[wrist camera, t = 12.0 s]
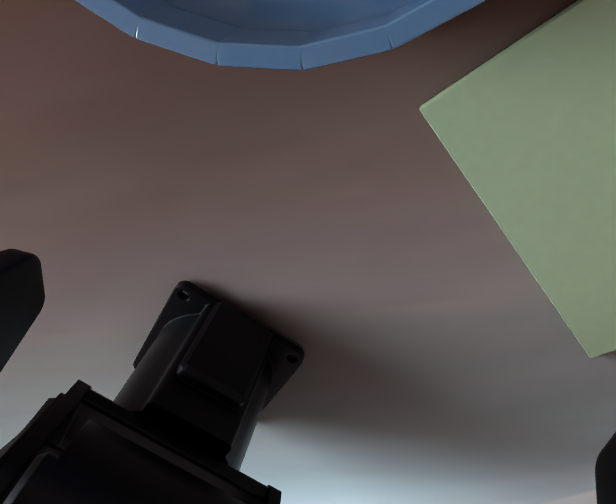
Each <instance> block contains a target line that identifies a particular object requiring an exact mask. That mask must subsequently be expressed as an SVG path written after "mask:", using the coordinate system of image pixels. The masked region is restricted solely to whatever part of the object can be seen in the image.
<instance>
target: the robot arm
mask: <svg viewBox="0 0 616 504" xmlns="http://www.w3.org/2000/svg"><path fill="white" fill-rule="evenodd" d="M183 291H186V292H187V293H188V294H189V295H187V294H185V293H184V292H183ZM44 300H45V292H44V284H43V277H42V269H41V262H40V260H39V258H38V257H37V256H36V255H34V254H31V253H28V252H24V251H20V250H17V249H7V250H4V251H0V372H1V371H2V369H3V367H4V366H5V364H6V363H7V361H8V360H9V358H10V357H11V355H12V354H13V352H14V351H15V349H16V348H17V346H18V345H19V343H20V342H21V340H22V339H23V337H24V336H25V334H26V333H27V331H28V330H29V328H30V327H31V325H32V323H33V322H34V320H35V319H36V317H37V316H38V314H39V313H40V311H41V309H42V307H43V304H44ZM289 354H292V355H295V356H296V357H293V356H291V355H289ZM304 356H305V354H304V351H303V349H302V348H301V347H300V346H298V345H296V344H295V343H293V342H291V341H290V340H288V339H286V338H284V337H283V336H281V335H279V334H278V333H276V332H274V331H273V330H271V329H269V328H267V327H266V326H264V325H262V324H261V323H259V322H257V321H256V320H254V319H252V318H251V317H249V316H247V315H245V314H244V313H242V312H240V311H239V310H237V309H235V308H234V307H232V306H230V305H229V304H227V303H225V302H223V301H222V300H220V299H218V298H217V297H215V296H213V295H212V294H210V293H208V292H206V291H205V290H203V289H201V288H200V287H198V286H196V285H195V284H193V283H191V282H189V281H181V282H179V283H178V284H177V286H176V287H175V289H174V290H173V292H172V294H171V295H170V297H169V299H168V301H167V303H166V305H165V306H164V308H163V310H162V312H161V314H160V315H159V317H158V319H157V321H156V323H155V325H154V326H153V328H152V330H151V332H150V334H149V335H148V337H147V339H146V341H145V343H144V345H143V346H142V348H141V350H140V352H139V354H138V355H137V357H136V359H135V361H134V364H133V365H134V368H135V370H134V372H133V373H132V375H131V376H130V378H129V379H128V380H127V382H126V383H125V385H124V386H123V388H122V389H121V391H120V392H119V394H118V395H117V397H116V398H115V400H114V401H111V400H109V399H108V398H106V397H104V396H102V395H100V394H99V393H97V392H95V391H93V390H91V386H89V385H88V384H86V383H84V382H82V381H80V380H78V381H77V382H76V383H75V384H74V385H73V386H72V387H71V388H70V389H69V391H68V392H67V393H66V394H63V393H60V394H59V395H58V396H57V397H56V398H49V399H48V400H47V401H46V403H45V404H44V405H43V406H42V407H41V409H40V410H39V411H38V412H37V414H36V415H35V416H34V417H33V418H32V420H31V421H30V422H29V423H28V424H27V426H26V427H25V428H24V429H23V430H22V431H21V432H20V433H19V434H18V435H17V436H16V437H15V438H14V439H12V440H11V441H10V442H9V443H8V444H6V445H5V446H4V447H3V448H2V449H1V450H0V504H280V501H281V491H279V490H277V489H276V488H274V487H272V486H270V485H268V486H265V485H263V484H261V483H260V482H258V481H256V480H254V479H252V478H251V477H249V476H247V475H245V474H243V473H242V472H240V471H239V470H240V467H241V464H242V462H243V459H244V456H245V453H246V451H247V448H248V445H249V443H250V440H251V437H252V434H253V432H254V429H255V426H256V424H257V421H258V418H259V416H260V413H261V411H262V410H263V409H264V408H265V407H266V405H267V404H268V403H269V402H270V401H271V399H272V398H273V397H274V396H275V395H276V394H277V392H278V391H279V390H280V389H281V388H282V387H283V385H284V384H285V383H286V382H287V381H288V379H289V378H290V377H291V376H292V375H293V374H294V372H295V371H296V370H297V369H298V368H299V367H300V365H301V364H302V362H303V359H304ZM595 477H596V494H597V504H616V432H615V434H614V435H613V436H612V437H611V439H610V440H609V441H608V443H607V444H606V445H605V447H604V448H603V449H602V451H601V452H600V454H599V455H598V458H597V461H596V466H595Z"/></svg>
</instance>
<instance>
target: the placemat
mask: <svg viewBox="0 0 616 504" xmlns="http://www.w3.org/2000/svg"><path fill="white" fill-rule="evenodd" d="M420 111H421V113H422V114H423V116H424V117H425V119H426V120H427V122H428V123H429V125H430V126H431V128H432V129H433V130H434V132H435V133H436V135H437V136H438V138H439V139H440V141H441V142H442V144H443V145H444V146H445V148H446V149H447V151H448V152H449V154H450V155H451V157H452V158H453V160H454V161H455V162H456V164H457V165H458V167H459V168H460V170H461V171H462V173H463V174H464V176H465V177H466V178H467V180H468V181H469V183H470V184H471V186H472V187H473V189H474V190H475V192H476V193H477V194H478V196H479V197H480V199H481V200H482V202H483V203H484V205H485V206H486V208H487V209H488V210H489V212H490V213H491V215H492V216H493V218H494V219H495V221H496V222H497V224H498V225H499V227H500V228H501V229H502V231H503V232H504V234H505V235H506V237H507V238H508V240H509V241H510V243H511V244H512V245H513V247H514V248H515V250H516V251H517V253H518V254H519V256H520V257H521V259H522V260H523V261H524V263H525V264H526V266H527V267H528V269H529V270H530V272H531V273H532V275H533V276H534V277H535V279H536V280H537V282H538V283H539V285H540V286H541V288H542V289H543V291H544V292H545V293H546V295H547V296H548V298H549V299H550V301H551V302H552V304H553V305H554V307H555V308H556V309H557V311H558V312H559V314H560V315H561V317H562V318H563V320H564V321H565V323H566V324H567V326H568V327H569V328H570V330H571V331H572V333H573V334H574V336H575V337H576V339H577V340H578V342H579V343H580V344H581V346H582V347H583V349H584V350H585V352H586V353H587V355H588V356H589V358H591V359H592V358H595V357H598V356H601V355H603V354H606V353H609V352H612V351H615V350H616V0H578V1H576V2H575V3H573V4H572V5H570V6H569V7H567V8H566V9H564V10H563V11H561V12H560V13H558V14H557V15H555V16H554V17H552V18H551V19H549V20H548V21H546V22H545V23H543V24H542V25H540V26H539V27H537V28H536V29H535V30H533V31H532V32H530V33H529V34H527V35H526V36H524V37H523V38H521V39H520V40H518V41H517V42H515V43H514V44H512V45H511V46H509V47H508V48H506V49H505V50H503V51H502V52H500V53H499V54H497V55H496V56H494V57H493V58H491V59H490V60H488V61H487V62H485V63H484V64H482V65H481V66H479V67H478V68H476V69H475V70H473V71H472V72H470V73H469V74H467V75H466V76H465V77H463V78H462V79H460V80H459V81H457V82H456V83H454V84H453V85H451V86H450V87H448V88H447V89H445V90H444V91H442V92H441V93H439V94H438V95H436V96H435V97H433V98H432V99H430V100H429V101H427V102H426V103H424V104H423V105H421V106H420Z"/></svg>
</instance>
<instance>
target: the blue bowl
mask: <svg viewBox="0 0 616 504" xmlns="http://www.w3.org/2000/svg"><path fill="white" fill-rule="evenodd" d="M75 1H77V2H78V3H80V4H81V5H83V6H84V7H86V8H88V9H89V10H91V11H92V12H94V13H95V14H97V15H99V16H100V17H102V18H103V19H105V20H106V21H108V22H110V23H111V24H113V25H114V26H116V27H117V28H119V29H120V30H122V31H124V32H125V33H127V34H128V35H130V36H131V37H133V38H137V39H138V40H141V41H144V42H147V43H150V44H153V45H156V46H159V47H162V48H165V49H168V50H171V51H174V52H177V53H180V54H183V55H186V56H189V57H192V58H195V59H198V60H201V61H204V62H207V63H210V64H213V65H219V66H225V67H245V68H264V69H283V70H303V69H304V70H308V69H312V68H317V67H321V66H325V65H330V64H334V63H339V62H343V61H347V60H352V59H356V58H360V57H365V56H369V55H373V54H378V53H382V52H386V51H390V50H392V49H393V48H394V49H395V48H398V47H400V46H402V45H404V44H405V43H407V42H409V41H411V40H413V39H415V38H417V37H419V36H420V35H422V34H424V33H426V32H428V31H430V30H432V29H434V28H435V27H437V26H439V25H441V24H443V23H445V22H447V21H449V20H451V19H452V18H454V17H456V16H458V15H460V14H462V13H464V12H466V11H467V10H469V9H471V8H473V7H475V6H477V5H479V4H481V3H483V2H484V1H485V0H75Z"/></svg>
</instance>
